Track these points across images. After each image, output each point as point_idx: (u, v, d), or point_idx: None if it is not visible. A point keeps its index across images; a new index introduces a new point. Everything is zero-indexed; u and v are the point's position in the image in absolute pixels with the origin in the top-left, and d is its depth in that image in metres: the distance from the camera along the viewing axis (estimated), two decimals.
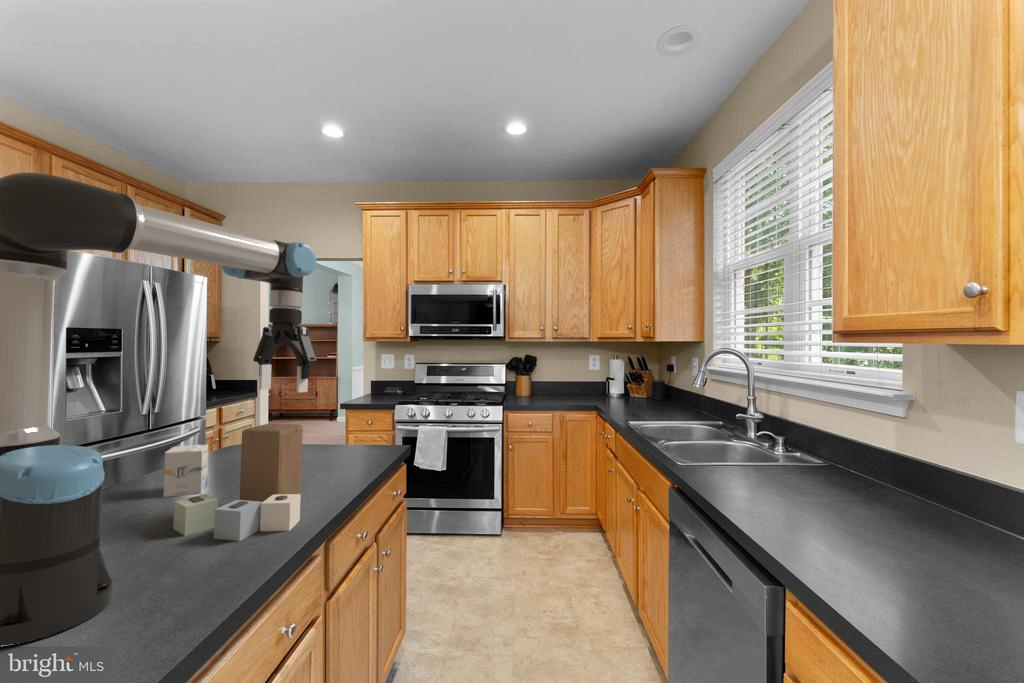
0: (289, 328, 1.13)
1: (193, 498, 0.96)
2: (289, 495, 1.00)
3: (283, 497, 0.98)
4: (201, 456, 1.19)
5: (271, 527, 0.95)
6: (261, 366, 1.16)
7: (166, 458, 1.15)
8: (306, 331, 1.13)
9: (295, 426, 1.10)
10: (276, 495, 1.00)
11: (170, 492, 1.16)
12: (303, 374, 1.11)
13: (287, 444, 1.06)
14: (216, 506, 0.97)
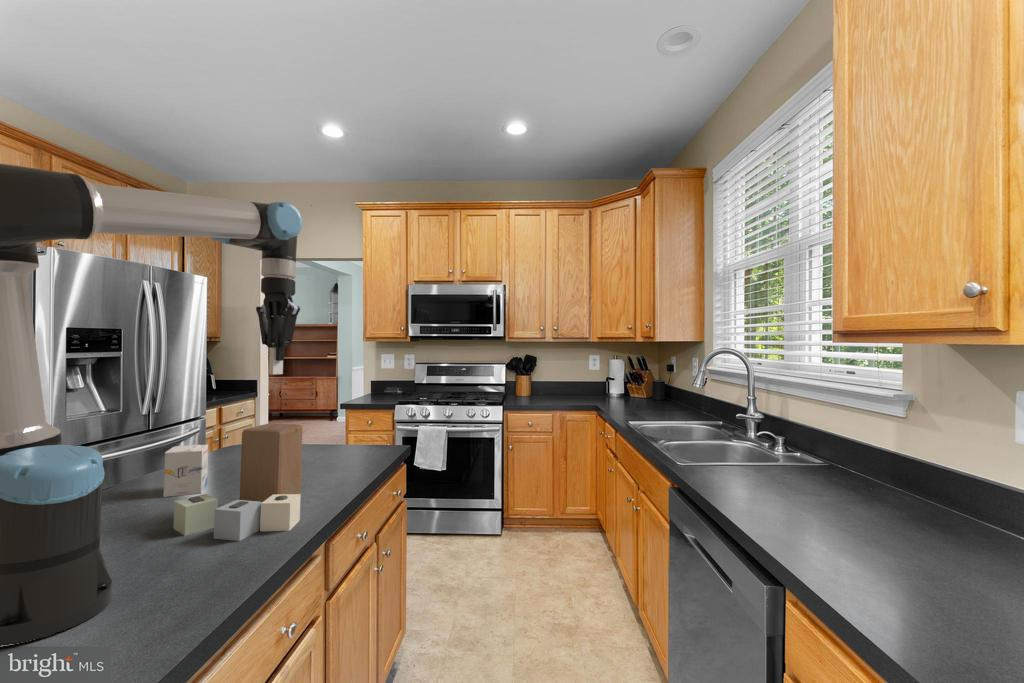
0: (283, 298, 1.07)
1: (193, 498, 0.96)
2: (289, 495, 1.00)
3: (283, 497, 0.98)
4: (201, 456, 1.19)
5: (271, 527, 0.95)
6: (270, 349, 1.08)
7: (166, 458, 1.15)
8: (296, 312, 1.08)
9: (295, 426, 1.10)
10: (276, 495, 1.00)
11: (170, 492, 1.16)
12: (277, 356, 1.08)
13: (287, 444, 1.06)
14: (216, 506, 0.97)
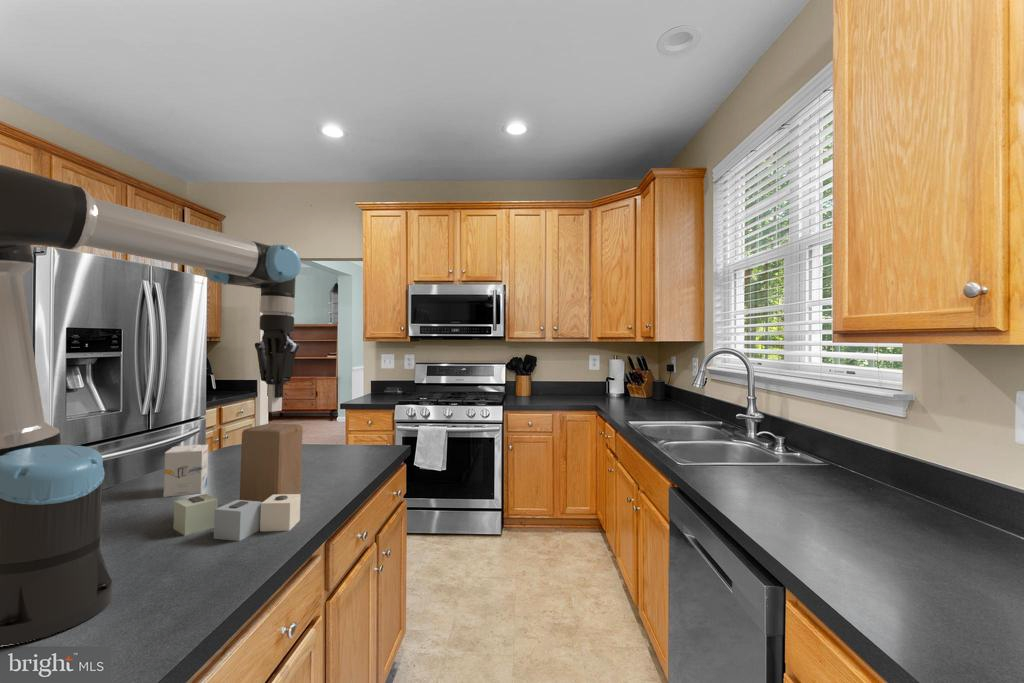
0: (282, 335, 1.07)
1: (193, 498, 0.96)
2: (289, 495, 1.00)
3: (283, 497, 0.98)
4: (201, 456, 1.19)
5: (271, 527, 0.95)
6: (269, 386, 1.08)
7: (166, 458, 1.15)
8: (295, 349, 1.07)
9: (295, 426, 1.10)
10: (276, 495, 1.00)
11: (170, 492, 1.16)
12: (276, 393, 1.08)
13: (287, 444, 1.06)
14: (216, 506, 0.97)
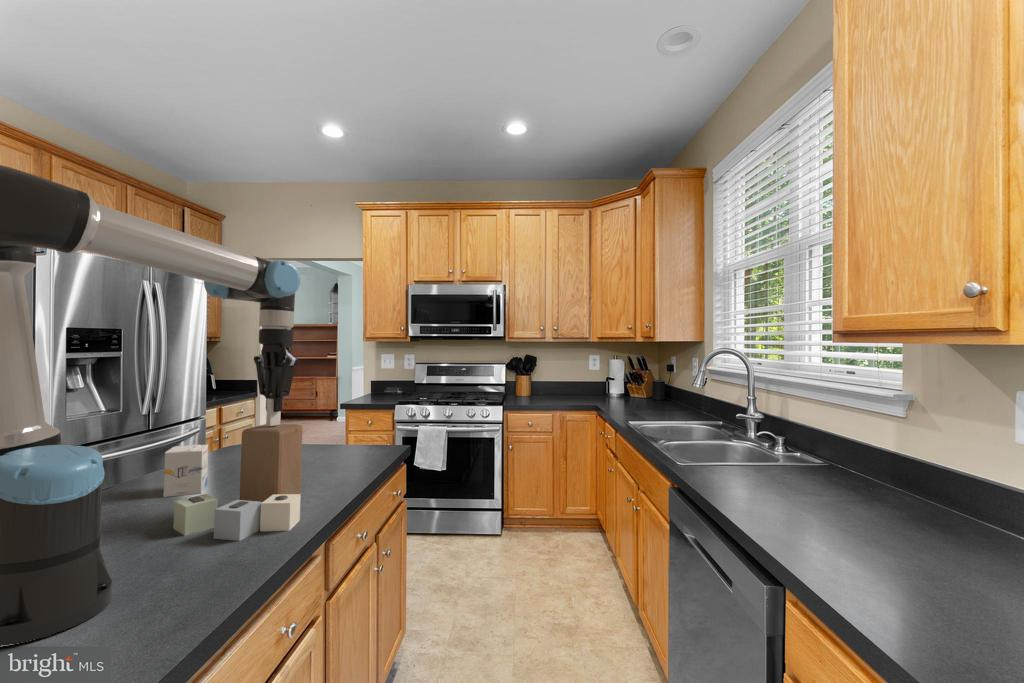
0: (281, 350, 1.07)
1: (193, 498, 0.96)
2: (289, 495, 1.00)
3: (283, 497, 0.98)
4: (201, 456, 1.19)
5: (271, 527, 0.95)
6: (268, 400, 1.08)
7: (166, 458, 1.15)
8: (294, 363, 1.07)
9: (295, 426, 1.10)
10: (276, 495, 1.00)
11: (170, 492, 1.16)
12: (275, 407, 1.08)
13: (287, 444, 1.06)
14: (216, 506, 0.97)
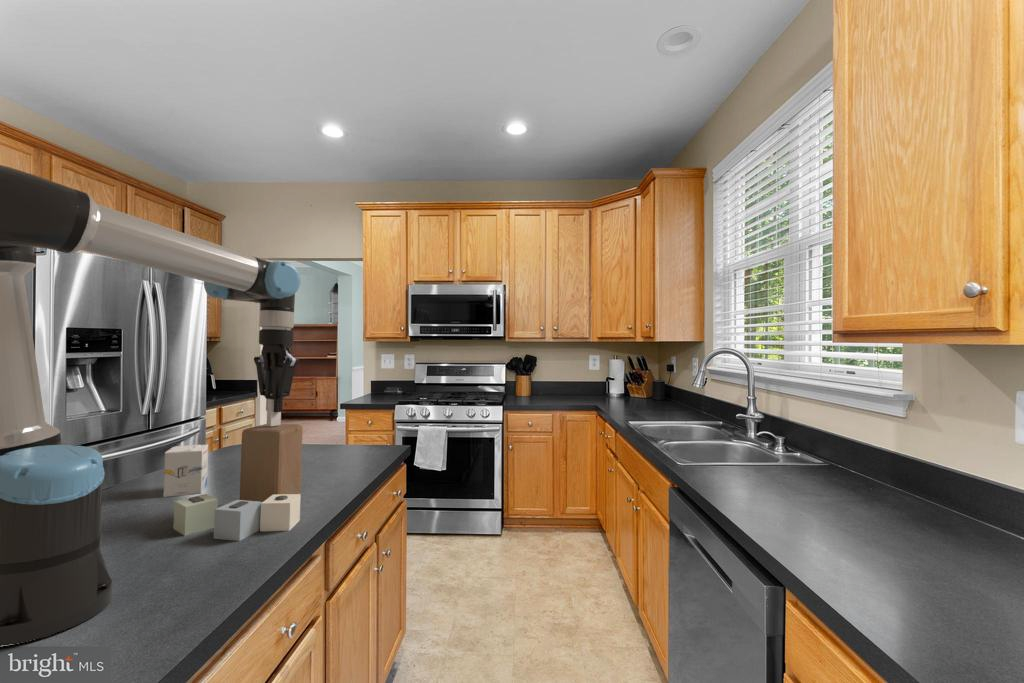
0: (281, 350, 1.07)
1: (193, 498, 0.96)
2: (289, 495, 1.00)
3: (283, 497, 0.98)
4: (201, 456, 1.19)
5: (271, 527, 0.95)
6: (268, 401, 1.08)
7: (166, 458, 1.15)
8: (294, 363, 1.07)
9: (295, 426, 1.10)
10: (276, 495, 1.00)
11: (170, 492, 1.16)
12: (275, 407, 1.08)
13: (287, 444, 1.06)
14: (216, 506, 0.97)
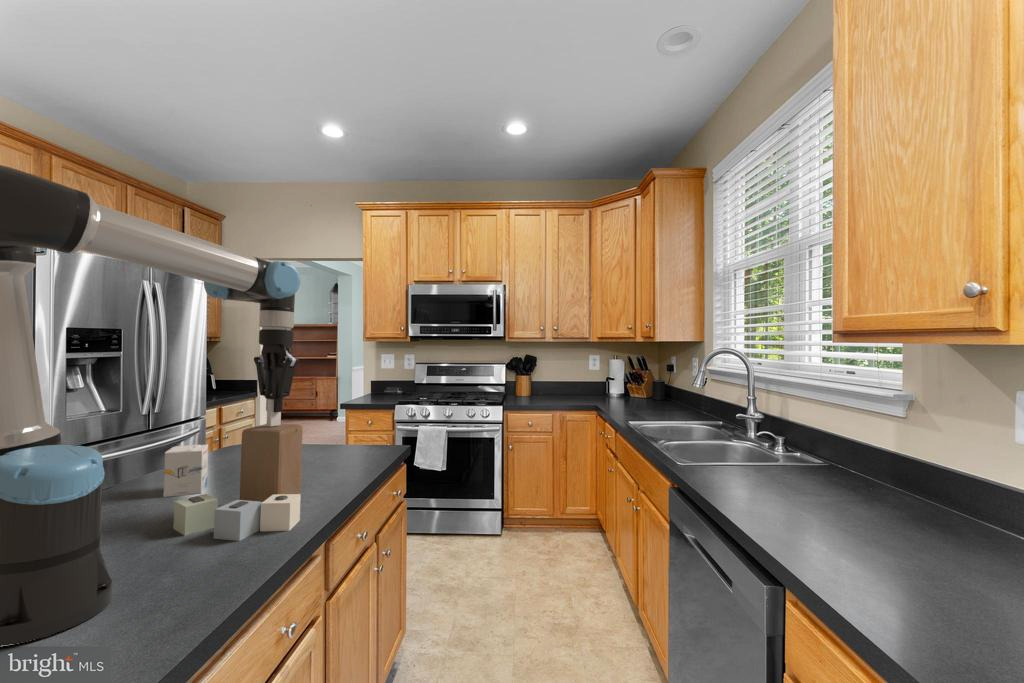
0: (281, 350, 1.07)
1: (193, 498, 0.96)
2: (289, 495, 1.00)
3: (283, 497, 0.98)
4: (201, 456, 1.19)
5: (271, 527, 0.95)
6: (268, 401, 1.08)
7: (166, 458, 1.15)
8: (294, 363, 1.07)
9: (295, 426, 1.10)
10: (276, 495, 1.00)
11: (170, 492, 1.16)
12: (275, 407, 1.08)
13: (287, 444, 1.06)
14: (216, 506, 0.97)
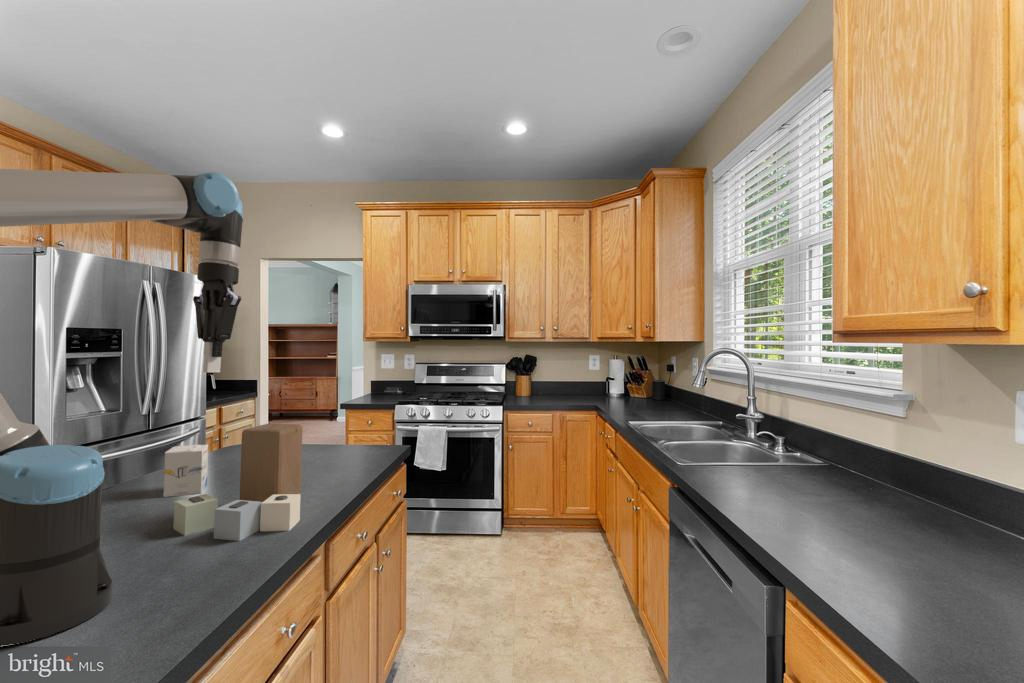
0: (222, 286, 0.95)
1: (193, 498, 0.96)
2: (289, 495, 1.00)
3: (283, 497, 0.98)
4: (201, 456, 1.19)
5: (271, 527, 0.95)
6: (206, 344, 0.96)
7: (166, 458, 1.15)
8: (236, 302, 0.95)
9: (295, 426, 1.10)
10: (276, 495, 1.00)
11: (170, 492, 1.16)
12: (214, 351, 0.95)
13: (287, 444, 1.06)
14: (216, 506, 0.97)
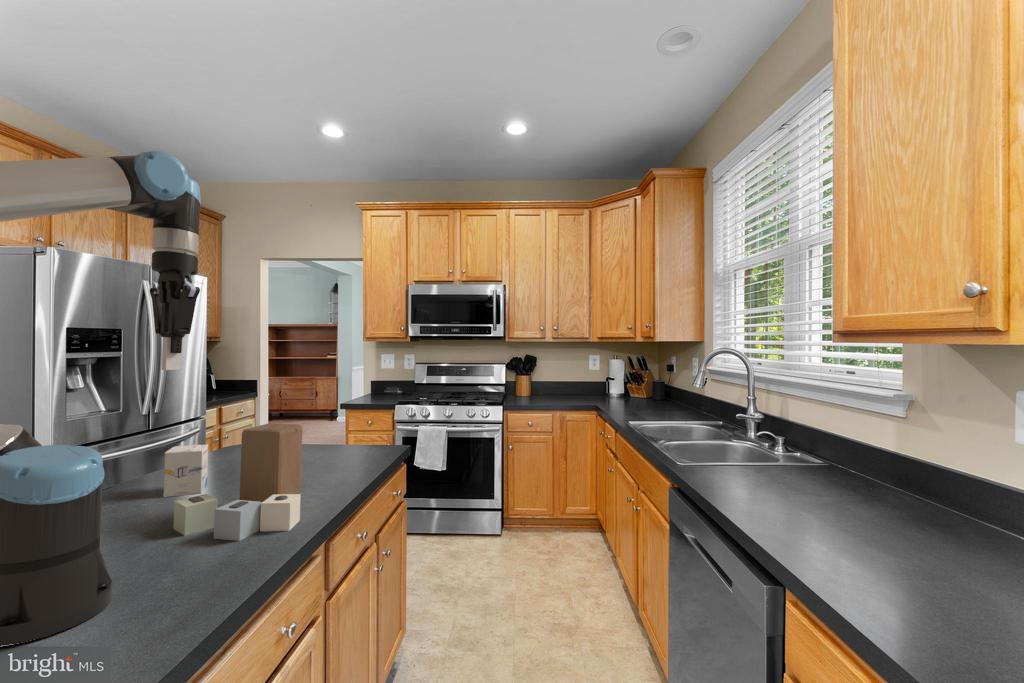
0: (178, 277, 0.88)
1: (193, 498, 0.96)
2: (289, 495, 1.00)
3: (283, 497, 0.98)
4: (201, 456, 1.19)
5: (271, 527, 0.95)
6: (164, 339, 0.89)
7: (166, 458, 1.15)
8: (195, 293, 0.88)
9: (295, 426, 1.10)
10: (276, 495, 1.00)
11: (170, 492, 1.16)
12: (172, 347, 0.89)
13: (287, 444, 1.06)
14: (216, 506, 0.97)
